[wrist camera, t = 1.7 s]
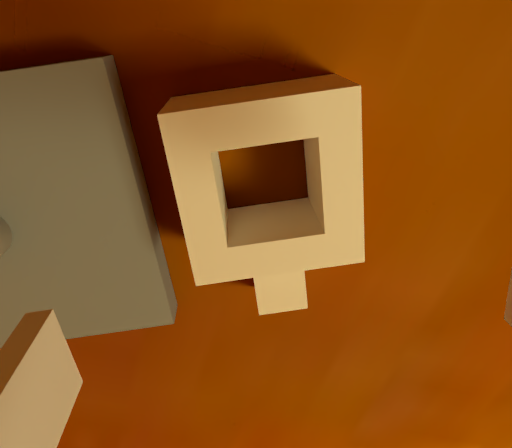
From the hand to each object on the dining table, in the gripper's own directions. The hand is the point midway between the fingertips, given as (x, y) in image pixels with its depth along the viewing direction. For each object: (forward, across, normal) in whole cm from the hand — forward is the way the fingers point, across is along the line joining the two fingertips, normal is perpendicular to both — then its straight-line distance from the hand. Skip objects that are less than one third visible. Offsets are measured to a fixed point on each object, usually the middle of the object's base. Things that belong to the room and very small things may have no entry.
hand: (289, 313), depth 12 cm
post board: (+14, -16, -1) cm, 21 cm away
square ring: (+14, 0, -2) cm, 14 cm away
